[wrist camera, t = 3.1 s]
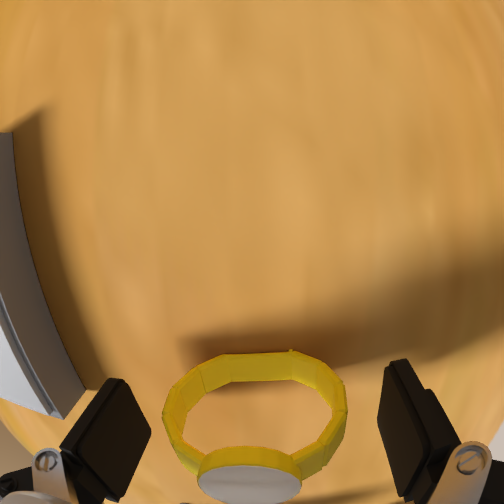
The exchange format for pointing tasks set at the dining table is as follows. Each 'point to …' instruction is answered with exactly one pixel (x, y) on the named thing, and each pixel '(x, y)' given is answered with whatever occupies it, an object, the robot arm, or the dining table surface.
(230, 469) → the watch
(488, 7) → the dining table surface
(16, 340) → the stand
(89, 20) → the dining table surface
